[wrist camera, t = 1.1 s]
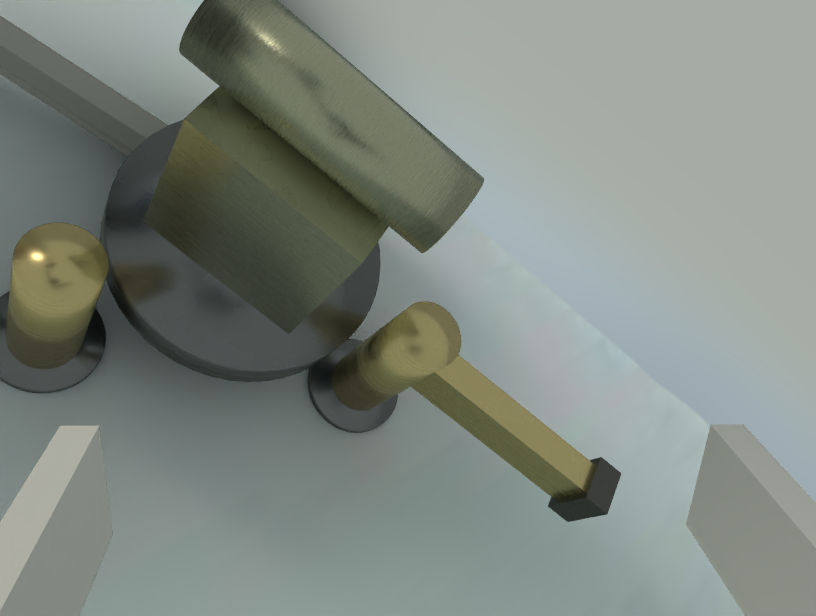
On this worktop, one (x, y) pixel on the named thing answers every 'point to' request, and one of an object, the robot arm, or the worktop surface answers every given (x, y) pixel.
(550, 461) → the lever
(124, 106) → the adjustable wrench
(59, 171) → the worktop surface
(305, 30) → the surveying level
